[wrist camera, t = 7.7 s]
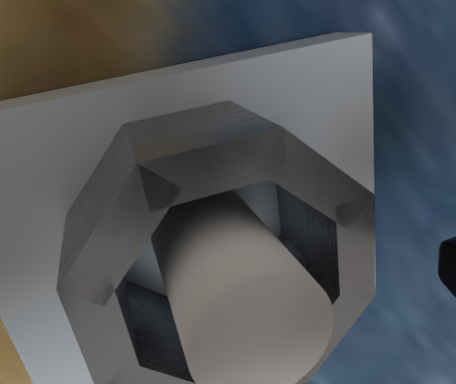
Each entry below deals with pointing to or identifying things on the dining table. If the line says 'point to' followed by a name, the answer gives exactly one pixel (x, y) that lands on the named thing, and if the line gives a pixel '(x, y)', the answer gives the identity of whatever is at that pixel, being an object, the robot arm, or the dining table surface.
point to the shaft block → (185, 209)
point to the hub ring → (191, 190)
